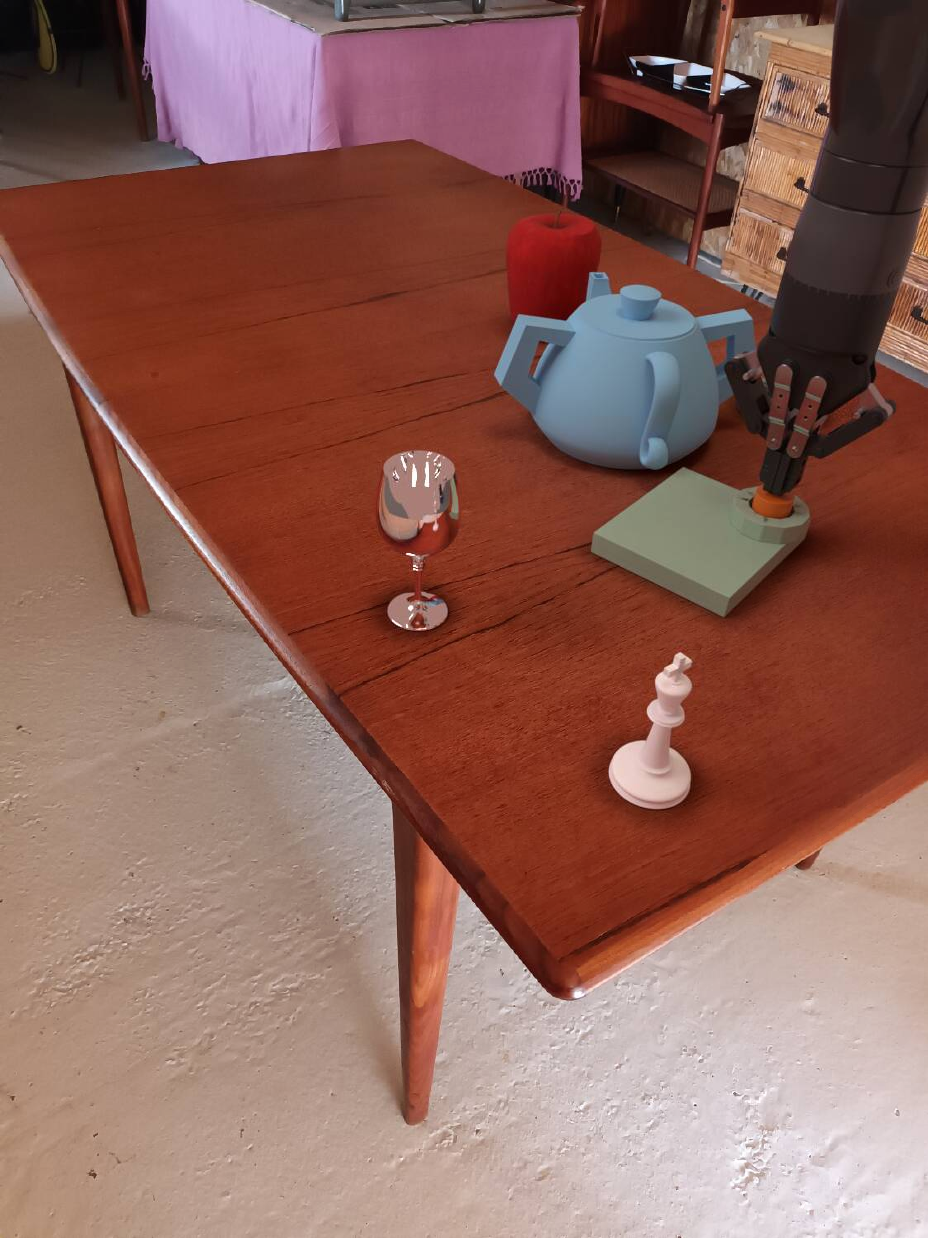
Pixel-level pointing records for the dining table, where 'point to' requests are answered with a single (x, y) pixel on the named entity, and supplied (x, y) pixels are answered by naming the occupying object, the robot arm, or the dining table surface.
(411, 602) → the wineglass
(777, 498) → the button
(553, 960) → the dining table surface
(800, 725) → the dining table surface
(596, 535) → the orange button base
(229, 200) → the dining table surface
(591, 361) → the teapot
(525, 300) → the apple
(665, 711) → the chess piece
